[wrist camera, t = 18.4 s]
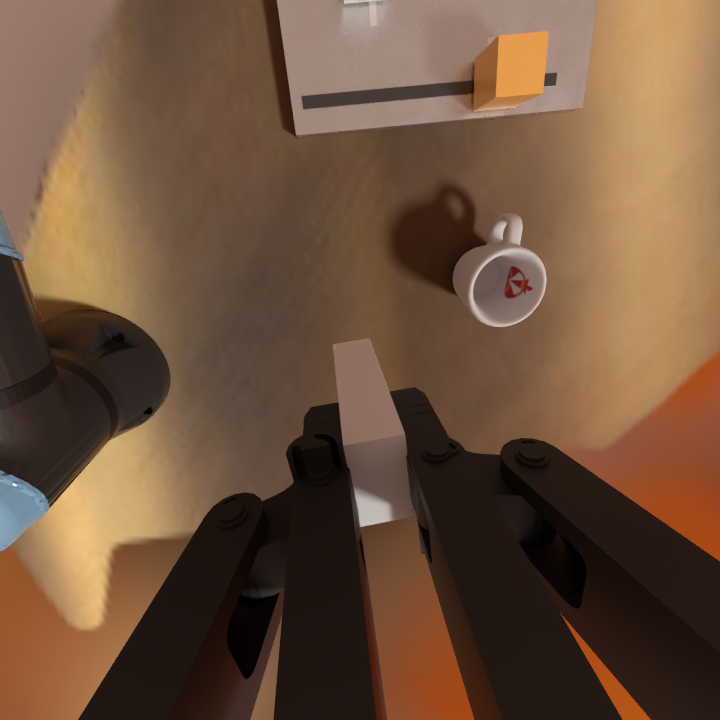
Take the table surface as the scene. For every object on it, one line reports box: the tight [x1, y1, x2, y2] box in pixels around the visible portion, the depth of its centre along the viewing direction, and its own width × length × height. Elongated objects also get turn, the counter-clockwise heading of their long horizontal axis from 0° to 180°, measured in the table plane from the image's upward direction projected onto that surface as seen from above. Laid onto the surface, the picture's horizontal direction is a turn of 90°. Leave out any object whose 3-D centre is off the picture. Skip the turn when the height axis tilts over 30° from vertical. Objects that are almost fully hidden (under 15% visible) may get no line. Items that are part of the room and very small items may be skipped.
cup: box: [453, 213, 546, 327], centre depth 38 cm, size 11×8×8 cm
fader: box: [473, 31, 549, 112], centre depth 31 cm, size 4×4×5 cm
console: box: [277, 0, 597, 138], centre depth 32 cm, size 28×13×2 cm, turn 95°
